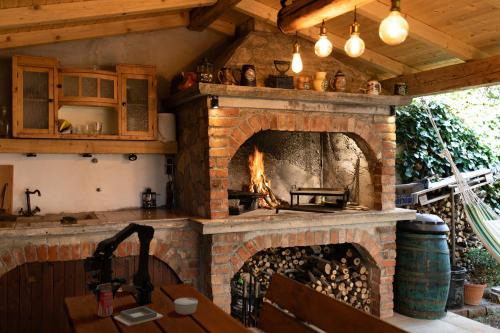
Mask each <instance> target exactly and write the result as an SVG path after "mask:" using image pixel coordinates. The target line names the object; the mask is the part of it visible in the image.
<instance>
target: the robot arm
mask: <svg viewBox="0 0 500 333" xmlns="http://www.w3.org/2000/svg"><path fill="white" fill-rule="evenodd" d="M135 233H137V239H138V240H139V253H138V254H139V255H138V264H137V269H138V271H137V273H136V274H134V275H133V280H132V284H133V285H134V286H135V289H136V290H139V291H138V293H136V300H135V303H137V304H139V305H142V306H143V305H148V304H152V303H154V301H153V300H152V293H153V292H154V291H155V286H154V284H153V283H152V281H151V275H150V273H149V262H150V258H149V257H150V246H151V242H152V241H153V239H154V235H155V228H154V226H153V225H146V224H139V223H138V222H129V223H128V225H127V226H125V227H124V228H122V229H121V230H119V231H118V232H117V233H115V234H114V235H113V236H111V237H108V238H105V239H102V240H101V241H99V242H98V243H97V247H96V248H95V250H94V251H93V253H92V256H91V255H90V256H86V258H85V260H84V262H83V265H82V266H83V270H84V271H85V272H86V273H89V279H90V280H91V281H90V280H89V281H86V282H84V284H83V288H84V289H85V290H87V291H89V292H90V291H92V293H93V295H94V297H95V301H96V304H97V303H99V299H100V289H101V288H99V287H102V286H108V285H110V286H111V289H112V292H113V300H114V299H115V297H116V295H117V293H118V291H119V290H120V288H122V285H123V284H126V278H124V276H122V275H119V276H118V275H117V276H114V277H113V274H114V270H113V259H114V258H117V256H116V254H115V253H114V252H115V251H116V250H117V249H118V247H119V245H120V244H122V243H123V242H124V241H125V240H127V239H128V238H130V237H131V236H132V235H133V234H135ZM96 271H97V273H96Z"/></svg>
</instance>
